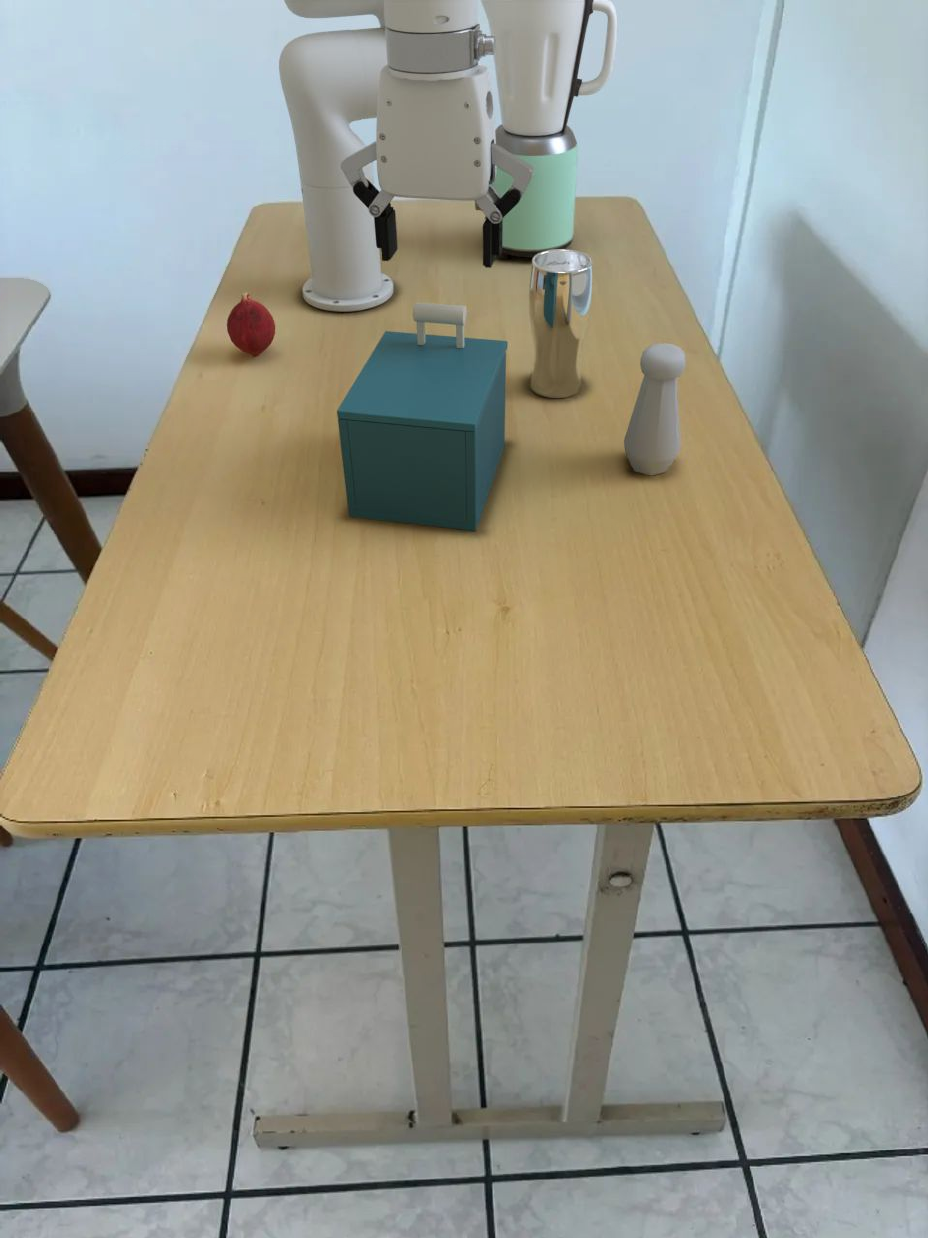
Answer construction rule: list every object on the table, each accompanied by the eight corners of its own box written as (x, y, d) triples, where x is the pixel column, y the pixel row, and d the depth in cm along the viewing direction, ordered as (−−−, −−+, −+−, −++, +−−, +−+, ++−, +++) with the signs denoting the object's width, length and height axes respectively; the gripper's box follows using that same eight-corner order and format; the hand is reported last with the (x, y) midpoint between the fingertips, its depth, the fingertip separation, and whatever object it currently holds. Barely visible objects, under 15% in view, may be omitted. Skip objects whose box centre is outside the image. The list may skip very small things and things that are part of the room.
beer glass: (581, 403, 110) (591, 275, 100) (521, 397, 111) (525, 270, 101) (587, 374, 115) (597, 249, 105) (530, 369, 116) (535, 246, 106)
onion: (284, 361, 119) (274, 299, 114) (238, 369, 118) (226, 307, 112) (273, 341, 123) (263, 280, 118) (228, 350, 122) (217, 288, 116)
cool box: (390, 434, 106) (383, 341, 99) (504, 445, 104) (506, 351, 96) (348, 516, 94) (337, 419, 87) (475, 531, 92) (475, 432, 85)
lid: (385, 337, 99) (382, 290, 96) (507, 347, 97) (508, 300, 94) (337, 418, 87) (331, 368, 84) (475, 432, 85) (474, 380, 82)
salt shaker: (680, 454, 102) (698, 339, 93) (674, 483, 98) (693, 366, 89) (625, 446, 103) (638, 332, 95) (617, 475, 99) (630, 359, 90)
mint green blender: (470, 263, 141) (468, -19, 118) (477, 230, 151) (476, -36, 128) (600, 266, 140) (624, -19, 116) (598, 233, 150) (620, -36, 126)
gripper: (543, 43, 80) (536, 249, 91) (345, 38, 83) (362, 239, 94) (529, 63, 74) (524, 280, 86) (317, 58, 77) (339, 268, 89)
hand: (439, 258), depth 90 cm, fingers open, 9 cm apart
